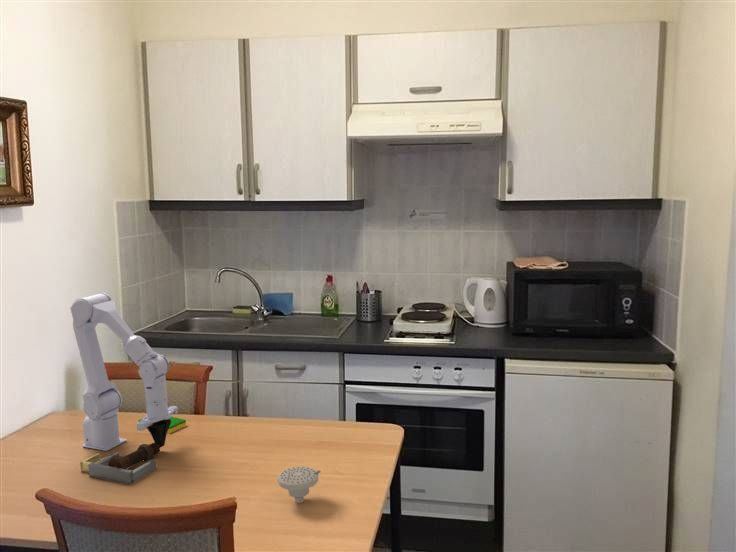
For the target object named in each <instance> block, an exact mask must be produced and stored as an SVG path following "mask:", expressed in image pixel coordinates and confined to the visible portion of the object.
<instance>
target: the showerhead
mask: <svg viewBox="0 0 736 552" xmlns="http://www.w3.org/2000/svg"><path fill="white" fill-rule="evenodd" d="M321 472H322V471H321V470H319V469H317V470H316V469H314V468H311V467H308V466H307V467H306V466H296V467H294V466H293V467H291V468H287V469H284V470H283V471H281V472H280V473H279V474H278V476H277V484H278V485H279V487H281V488H282V489H285V490H288V491H287V492H288V495H289V496H290V497H293V498H294V503H295V504H296V503H297V504H301V503H303V502H305V496H307V495H309V493H310V488H312V487H314V486H315V485H316V484H317V483H318V482H319V474H320V473H321Z"/></svg>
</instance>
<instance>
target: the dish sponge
mask: <svg viewBox="0 0 736 552" xmlns="http://www.w3.org/2000/svg"><path fill="white" fill-rule="evenodd" d="M143 418H144V417H142V418H140V419H138V422H140V421H141V420H142V419H143ZM169 419H170V420H171V424H170V426H169V428H168V431H167V434H172V433H174V432H176V430H177V431H179V430H181V429H183V428H186V427H187V419H184V418H178V417H174V416H171V418H169ZM182 427H183V428H182ZM180 428H181V429H180ZM178 429H179V430H178Z"/></svg>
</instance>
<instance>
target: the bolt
mask: <svg viewBox="0 0 736 552" xmlns="http://www.w3.org/2000/svg"><path fill="white" fill-rule="evenodd" d="M160 452H161V447H160V445H158V444H157V443H155V442H152V443H150V444H146V443H142V444H140V445H139V446H138V448H137V450H134V451H132V452H130V453H128V454H126V455H123V456H121V455H120V456H118V455H114V456H112V457H111V458H110V460H109V462H108V466H111V467H116V468H121V469H127V470H128V469H129V468H131V467H132V466H134V465H137V464H139V463H140V462H141V463H142V462H144V461H148V460H150V459H151V460H152V459H153V457H154V455H157V454H159V453H160ZM143 460H144V461H143Z"/></svg>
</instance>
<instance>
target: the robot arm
mask: <svg viewBox="0 0 736 552" xmlns="http://www.w3.org/2000/svg"><path fill="white" fill-rule="evenodd" d="M116 306H117V305H116V302H115V301H114V300H113V298H111V296H110V295H109V294H107V293H105V292H99V293H98V294H93V295H90V296H89V295H88V296H87V297H79V298H77V299H75V300H74V302H73V303H72V305H71V306H70V312H71V317H72V329H73V331H74V332H73V333H74V336H75V339H76V343H77V348H78V351H79V354H80V355H79V356H80V359H81V362H82V366H83V370H84V375H85V377H86V381H87V387H86V389H85V390H84V392H83V394H82V399H83V404H82V406H83V408H82V409H83V412H84V414H85V415H86V416H85V418H84V420H83V423H82V429H83V440H84V443H83V444H82V447H83V448H87V449H94V450H99V451H105V452H107V451H109V450H111V449H113V448H116V447H118V446H119V445H121V444H124V443H125V442H127V439H126V438H121V437H120V430H119V429H120V428H119V418H118V417H119V416H118V412H119V409H120V407H121V406H122V404H123V398H122V397H123V396H122V394H121V392H120V391H119V390H118V387H117V384H116V383H115V382H113V381H111V380H109V377H108V374H107V369H106V366H105V362H104V358H103V355H102V354H103V353H102V350H101V347H100V342H99V340H98V335H97V331H96V327H97V325H98V324H105V325H106V326H107V327H108V328H109V329H110V330H111V331H112V332H113V333H114V334H115V336H117V337H118V338H119V339H120V341H121V342H123V350H124V351H125V353H126V354H127V356H129V357H130V358H131V361H133V362H134V363H135V364H136V365H137V367H138V368H139V369H138V370H137V372H138V375H139V377H140V378H141V379H142V385H143V386H144V397H145V410H146V415H145V416H144V417H142V418H143V419H142V418H141V419H142V420H141V421H140V422H139V421H138V422H136V430H137V431H142V432H143V431H145V430H146V429H147V430H148V432H149V433H150V436H151V437H152V439H153V443H157V444H158V445H160V448H163V447H164V446H165V445H166V439H167V434H168V433H167V431H168V428H169V426H170V424H171V420H170V419H169V418H171V417H172V415H176V414H178V413H179V409H178V405H177V406H176V405H170V406H169V405H168V394H167V393H168V391H167V381H166V380H167V379H166V374H167V373H168V371H169V370H170V364H169V360H168V359H167V357H166V356H165V355H163V354H159V353H158V352H156V351H154V350H153V348H152V347H151V346H150V345H149V344H148V343H147V340H146V339H145V338H144V337H142V336H141V335H135V333H133V331H132V329H131V328H130V327H129V326H128V324H127V323H126V321H125V320H124V319H123V317H122V316H121V315H120V313H119V311H118V310H117V307H116ZM168 406H169V407H168Z"/></svg>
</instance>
